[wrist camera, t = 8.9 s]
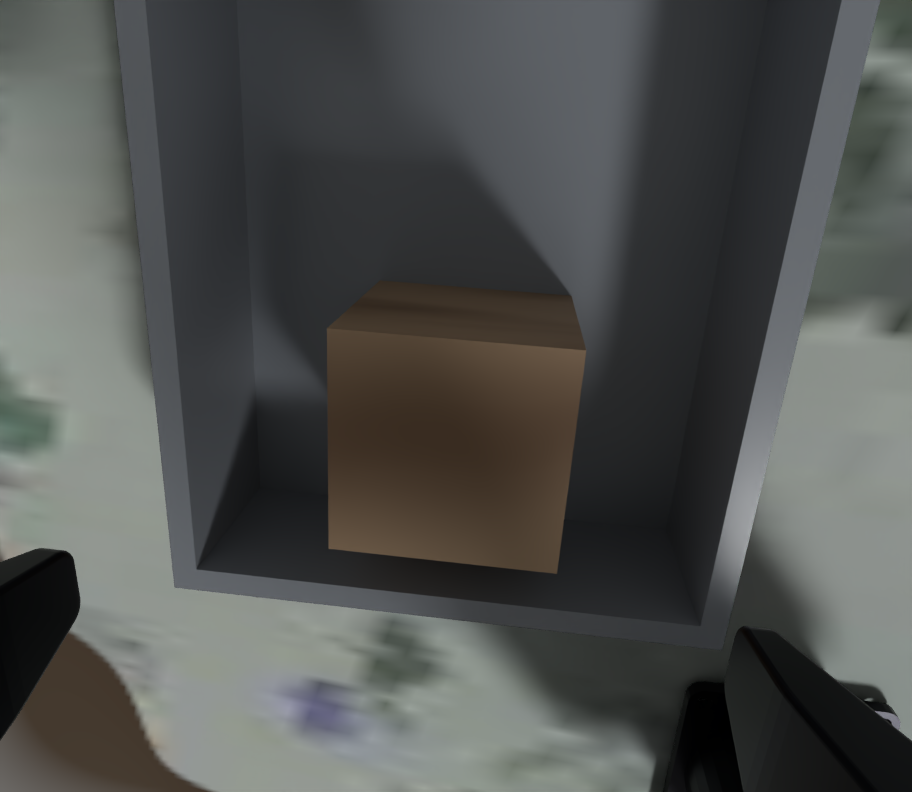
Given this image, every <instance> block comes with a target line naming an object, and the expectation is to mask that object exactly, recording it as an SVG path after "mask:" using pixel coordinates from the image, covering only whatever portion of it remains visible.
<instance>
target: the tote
mask: <svg viewBox="0 0 912 792" xmlns="http://www.w3.org/2000/svg"><path fill="white" fill-rule="evenodd" d="M879 3H880V0H114V9H115V19H116V28H117V38H118V48H119V57H120V67H121V76H122V86H123V96H124V105H125V115H126V125H127V134H128V144H129V153H130V163H131V173H132V182H133V192H134V202H135V211H136V221H137V230H138V240H139V250H140V259H141V269H142V279H143V288H144V298H145V308H146V317H147V327H148V336H149V346H150V356H151V365H152V375H153V385H154V394H155V404H156V413H157V423H158V433H159V442H160V452H161V462H162V471H163V481H164V490H165V500H166V510H167V519H168V529H169V539H170V548H171V558H172V567H173V577H174V587H175V588H184V589H193V590H201V591H210V592H219V593H227V594H236V595H245V596H253V597H262V598H271V599H279V600H288V601H297V602H305V603H314V604H323V605H332V606H340V607H349V608H358V609H366V610H375V611H384V612H392V613H401V614H410V615H418V616H427V617H436V618H444V619H453V620H462V621H470V622H479V623H488V624H496V625H505V626H514V627H523V628H531V629H540V630H549V631H557V632H566V633H575V634H583V635H592V636H601V637H609V638H618V639H627V640H635V641H644V642H653V643H661V644H670V645H679V646H688V647H696V648H705V649H714V650H722V649H723V645H724V641H725V637H726V633H727V629H728V624H729V620H730V616H731V612H732V608H733V604H734V600H735V596H736V592H737V587H738V583H739V579H740V575H741V571H742V567H743V563H744V559H745V555H746V550H747V546H748V542H749V538H750V534H751V530H752V526H753V522H754V517H755V513H756V509H757V505H758V501H759V497H760V493H761V489H762V485H763V480H764V476H765V472H766V468H767V464H768V460H769V456H770V452H771V447H772V443H773V439H774V435H775V431H776V427H777V423H778V419H779V415H780V410H781V406H782V402H783V398H784V394H785V390H786V386H787V382H788V378H789V373H790V369H791V365H792V361H793V357H794V353H795V349H796V345H797V340H798V336H799V332H800V328H801V324H802V320H803V316H804V312H805V308H806V303H807V299H808V295H809V291H810V287H811V283H812V279H813V275H814V270H815V266H816V262H817V258H818V254H819V250H820V246H821V242H822V238H823V233H824V229H825V225H826V221H827V217H828V213H829V209H830V205H831V201H832V196H833V192H834V188H835V184H836V180H837V176H838V172H839V168H840V163H841V159H842V155H843V151H844V147H845V143H846V139H847V135H848V131H849V126H850V122H851V118H852V114H853V110H854V106H855V102H856V98H857V93H858V89H859V85H860V81H861V77H862V73H863V69H864V65H865V61H866V56H867V52H868V48H869V44H870V40H871V36H872V32H873V28H874V24H875V19H876V15H877V11H878V7H879ZM380 280H381V281H394V282H406V283H419V284H431V285H444V286H456V287H469V288H481V289H494V290H506V291H519V292H532V293H544V294H557V295H569V296H572V300H573V303H574V307H575V311H576V314H577V318H578V322H579V325H580V329H581V333H582V336H583V340H584V344H585V347H586V357H585V365H584V373H583V380H582V388H581V395H580V403H579V410H578V418H577V426H576V433H575V441H574V448H573V456H572V463H571V471H570V479H569V486H568V494H567V501H566V509H565V516H564V524H563V531H562V539H561V547H560V554H559V562H558V569H557V574H554V573H545V572H536V571H527V570H518V569H509V568H499V567H490V566H481V565H472V564H463V563H454V562H445V561H436V560H427V559H418V558H408V557H399V556H390V555H381V554H372V553H363V552H354V551H345V550H336V549H329V531H328V394H327V328H328V327H329V326H330V325H331V324H332V323H333V322H335V321H336V320H337V319H338V318H339V317H340V316H341V315H342V314H343V313H345V312H346V311H347V310H348V309H349V308H350V307H351V306H352V305H353V304H354V303H356V302H357V301H358V300H359V299H360V298H361V297H362V296H363V295H364V294H366V293H367V292H368V291H369V290H370V289H371V288H372V287H373V286H374V285H375V284H377V283H378V282H379V281H380Z"/></svg>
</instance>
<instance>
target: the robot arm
mask: <svg viewBox="0 0 912 792" xmlns="http://www.w3.org/2000/svg"><path fill="white" fill-rule="evenodd" d="M79 609H80V594H79V588H78V582H77V576H76V570H75V564H74V559H73V557H72V556H71V554H70V553H68V552H67V551H64V550H55V549H46V548H39V549H35V550H32V551H29V552H26V553H24V554H21V555H18V556H16V557H13V558H10V559H8V560H5V561H2V562H0V740H1V739H2V738H3V736H4V735H5V733H6V732H7V730H8V729H9V727H10V726H11V725H12V723H13V722H14V720H15V719H16V717H17V716H18V714H19V713H20V711H21V710H22V708H23V706H24V705H25V703H26V702H27V700H28V698H29V697H30V695H31V693H32V692H33V690H34V688H35V686H36V685H37V683H38V682H39V680H40V678H41V677H42V675H43V673H44V672H45V670H46V668H47V667H48V665H49V663H50V662H51V660H52V658H53V656H54V655H55V653H56V652H57V650H58V648H59V647H60V645H61V643H62V642H63V640H64V638H65V636H66V635H67V633H68V632H69V630H70V628H71V627H72V625H73V623H74V622H75V620H76V618H77V615H78V613H79ZM701 697H707V698H706V699H705V700H698V699H699V698H701ZM899 728H900V720H899V718H898V716H897V715H896V713H895V712H894V710H893V709H892V707H890V706H889V705H888V704H884V703H879V702H871V701H862V700H860V699H859V698H858V697H857V696H855V695H854V694H853V693H852V692H850V691H849V690H848V689H847V688H845V687H844V686H843V685H842V684H841V683H839V682H838V681H837V680H836V679H834V678H833V677H832V676H831V675H829V674H828V673H827V672H826V671H824V670H823V669H822V668H821V667H819V666H818V665H817V664H816V663H815V662H813V661H812V660H811V659H810V658H808V657H807V656H806V655H805V654H803V653H802V652H801V651H800V650H798V649H797V648H796V647H795V646H793V645H792V644H791V643H790V642H788V641H787V640H786V639H785V638H784V637H782V636H781V635H780V634H779V633H777V632H776V631H774V630H772V629H766V628H757V627H748V626H743V627H741V628H740V629H739V630H738V631H737V633H736V636H735V639H734V643H733V647H732V651H731V655H730V659H729V663H728V667H727V671H726V675H725V684H719V683H711V682H696V683H694V684H692V685H690V686H689V687H688V688H687V690H686V693H685V697H684V701H683V706H682V710H681V715H680V719H679V724H678V728H677V733H676V737H675V741H674V746H673V750H672V755H671V759H670V764H669V768H668V772H667V777H666V781H665V786H664V790H663V792H912V741H911V740H910V739H909V738H907V737H906V736H905V735H904V734H902V733H901V732H900V731H899Z"/></svg>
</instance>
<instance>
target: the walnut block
mask: <svg viewBox="0 0 912 792" xmlns="http://www.w3.org/2000/svg"><path fill="white" fill-rule="evenodd" d="M585 357H586V347H585V344H584V340H583V336H582V333H581V329H580V325H579V322H578V318H577V314H576V311H575V307H574V303H573V300H572V296H569V295H557V294H544V293H532V292H519V291H506V290H494V289H481V288H469V287H456V286H444V285H431V284H419V283H406V282H394V281H381V280H380V281H379V282H378V283H377V284H375V285H374V286H373V287H372V288H371V289H370V290H369V291H368V292H367V293H366V294H364V295H363V296H362V297H361V298H360V299H359V300H358V301H357V302H356V303H354V304H353V305H352V306H351V307H350V308H349V309H348V310H347V311H346V312H345V313H343V314H342V315H341V316H340V317H339V318H338V319H337V320H336V321H335V322H333V323H332V324H331V325H330V326H329V327H328V328H327V394H328V531H329V549H336V550H345V551H354V552H363V553H372V554H381V555H390V556H399V557H408V558H418V559H427V560H436V561H445V562H454V563H463V564H472V565H481V566H490V567H499V568H509V569H518V570H527V571H536V572H545V573H554V574H557V569H558V562H559V554H560V547H561V539H562V531H563V524H564V516H565V509H566V501H567V494H568V486H569V479H570V471H571V463H572V456H573V448H574V441H575V433H576V426H577V418H578V410H579V403H580V395H581V388H582V380H583V373H584V365H585Z"/></svg>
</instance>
